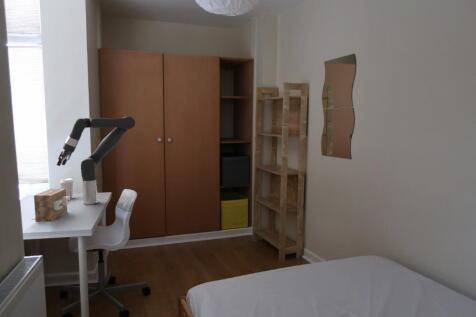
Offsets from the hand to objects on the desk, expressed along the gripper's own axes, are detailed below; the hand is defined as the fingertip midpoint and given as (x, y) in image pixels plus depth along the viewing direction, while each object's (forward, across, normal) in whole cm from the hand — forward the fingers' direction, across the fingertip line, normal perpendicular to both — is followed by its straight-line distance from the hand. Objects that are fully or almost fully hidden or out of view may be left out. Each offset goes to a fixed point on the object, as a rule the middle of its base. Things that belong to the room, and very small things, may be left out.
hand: (60, 165), depth 233 cm
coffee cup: (+27, +28, -7) cm, 40 cm away
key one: (+18, -19, -19) cm, 32 cm away
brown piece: (+27, -23, -17) cm, 39 cm away
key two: (+19, -30, -19) cm, 40 cm away
